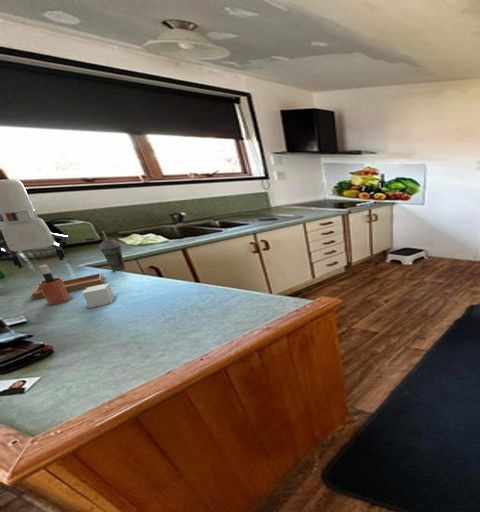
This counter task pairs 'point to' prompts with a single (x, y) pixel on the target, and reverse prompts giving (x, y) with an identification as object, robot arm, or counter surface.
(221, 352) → the counter surface
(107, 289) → the white cube
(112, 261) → the beverage cup
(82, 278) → the pen tray
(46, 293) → the cup
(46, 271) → the marker
